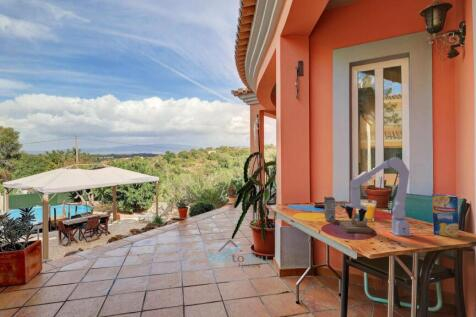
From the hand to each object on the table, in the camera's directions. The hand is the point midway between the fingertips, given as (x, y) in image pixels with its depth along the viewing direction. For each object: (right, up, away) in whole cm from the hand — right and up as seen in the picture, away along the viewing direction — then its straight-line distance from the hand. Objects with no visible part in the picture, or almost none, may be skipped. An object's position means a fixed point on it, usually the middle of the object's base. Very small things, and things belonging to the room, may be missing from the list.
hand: (355, 219), depth 158 cm
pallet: (+3, -3, +1) cm, 4 cm away
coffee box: (-7, -6, +24) cm, 26 cm away
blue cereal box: (+43, -5, -15) cm, 46 cm away
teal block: (+3, +1, +1) cm, 3 cm away
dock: (-1, -5, +1) cm, 6 cm away
